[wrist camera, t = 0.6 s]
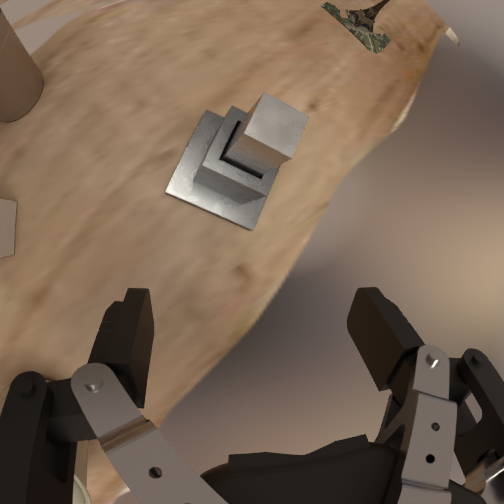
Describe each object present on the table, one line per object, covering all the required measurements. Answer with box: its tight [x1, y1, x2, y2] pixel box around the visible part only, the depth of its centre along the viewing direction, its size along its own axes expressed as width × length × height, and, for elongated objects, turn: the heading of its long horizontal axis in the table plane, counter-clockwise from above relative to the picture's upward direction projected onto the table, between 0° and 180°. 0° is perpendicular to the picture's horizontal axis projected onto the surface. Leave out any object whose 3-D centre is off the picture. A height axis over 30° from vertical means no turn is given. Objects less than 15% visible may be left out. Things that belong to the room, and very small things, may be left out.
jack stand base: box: [165, 106, 280, 230], centre depth 33 cm, size 12×12×10 cm
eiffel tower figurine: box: [321, 0, 391, 53], centre depth 37 cm, size 15×10×13 cm
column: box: [219, 92, 309, 177], centre depth 28 cm, size 4×4×16 cm
